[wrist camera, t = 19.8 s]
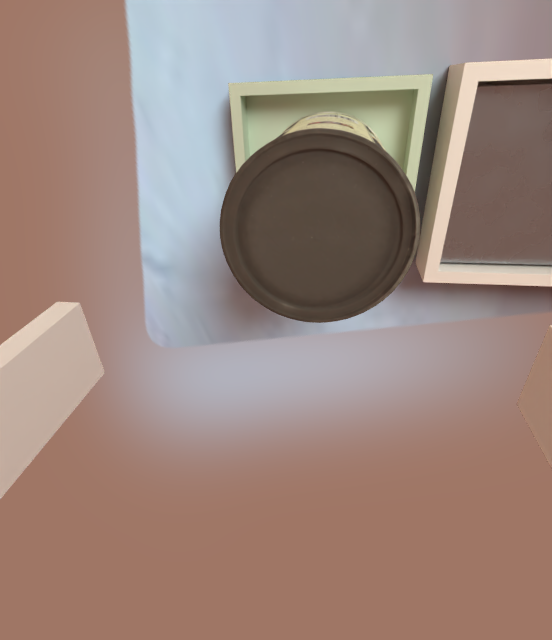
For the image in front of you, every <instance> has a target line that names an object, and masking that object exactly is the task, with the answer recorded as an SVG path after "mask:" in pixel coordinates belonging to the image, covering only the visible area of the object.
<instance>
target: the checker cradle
mask: <svg viewBox="0 0 552 640" xmlns="http://www.w3.org/2000/svg"><path fill="white" fill-rule="evenodd" d="M527 84H552V59H535V60H514V61H493V62H472V63H461V64H456V65H450V66H449V72H448V77H447V83H446V89H445V95H444V100H443V106H442V112H441V118H440V123H439V129H438V135H437V141H436V146H435V152H434V158H433V164H432V169H431V175H430V181H429V187H428V192H427V198H426V204H425V210H424V215H423V221H422V227H421V233H420V238H419V244H418V250H417V256H416V261H415V264H416V266H417V268H418V271H419V273H420V276H421V278H422V281H423V282H433V283H463V284H494V285H524V286H552V265H536V264H496V263H457V262H440V260H441V256H442V251H443V246H444V241H445V237H446V232H447V227H448V223H449V218H450V213H451V208H452V204H453V199H454V194H455V189H456V185H457V180H458V175H459V171H460V166H461V161H462V156H463V152H464V147H465V142H466V137H467V133H468V128H469V123H470V119H471V114H472V109H473V104H474V100H475V95H476V90H477V86H501V85H527Z"/></svg>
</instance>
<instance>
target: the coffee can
mask: <svg viewBox="0 0 552 640" xmlns="http://www.w3.org/2000/svg"><path fill="white" fill-rule="evenodd" d="M419 236H420V213H419V207H418V201H417V198H416V195H415V192H414V189H413V187H412V184H411V182H410V181H409V179H408V177H407V176H406V174H405V173H404V171H403V170H402V168H401V167H400V166H399V164H398V163H397V162H396V161H395V160H394V159H393V157H392V156H391V155H390V154H388V153H387V152H386V150H385V149H384V147H383V145H382V142H381V141H380V139H379V138H378V136H377V135H376V133H375V132H374V131H373V130H372V129H371V128H370V127H369V126H368V125H367V124H366V123H364V122H363V121H362V120H360V119H358V118H356V117H355V116H353V115H349V114H347V113H342V112H336V111H323V112H317V113H312V114H309V115H306V116H304V117H301V118H300V119H298V120H297V121H295V122H294V123H292V124H291V125H290V126H288V127H287V128H286V129H285V130H284V131H283V132H282V133H281V135H280V136H278V137H277V138H276V139H274V140H273V141H271V142H269V143H267V144H266V145H264V146H263V147H261V148H260V149H259V150H257V151H256V152H255V153H254V154H253V155H251V156H250V157H249V158H248V159H247V160H246V161H245V162H244V163H243V164H242V166H241V167H240V169H239V170H238V171H237V173H236V174H235V176H234V177H233V179H232V181H231V183H230V185H229V187H228V189H227V192H226V194H225V198H224V201H223V205H222V209H221V217H220V238H221V244H222V249H223V252H224V255H225V258H226V261H227V263H228V265H229V267H230V269H231V271H232V273H233V275H234V277H235V278H236V279H237V281H238V283H239V284H240V285H241V286H242V288H243V289H244V290H245V291H246V292H247V293H248V294H249V295H250V296H251V297H252V298H253V299H254V300H256V301H257V302H258V303H260V304H261V305H263V306H264V307H266V308H268V309H269V310H271V311H273V312H275V313H277V314H279V315H282V316H284V317H287V318H290V319H295V320H299V321H305V322H319V323H321V322H333V321H339V320H344V319H348V318H351V317H354V316H356V315H359V314H361V313H363V312H366V311H367V310H369V309H371V308H373V307H374V306H376V305H377V304H379V303H380V302H381V301H383V300H384V299H385V298H386V297H387V296H389V295H390V294H391V293H392V292H393V291H394V290H395V288H396V287H397V286H398V285H399V284H400V283H401V281H402V280H403V278H404V277H405V275H406V274H407V272H408V270H409V268H410V266H411V264H412V262H413V259H414V257H415V254H416V251H417V247H418V243H419Z"/></svg>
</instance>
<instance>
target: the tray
mask: <svg viewBox="0 0 552 640" xmlns="http://www.w3.org/2000/svg"><path fill="white" fill-rule="evenodd" d="M432 78H433V74H427V75H404V76H382V77H359V78H336V79H314V80H291V81H268V82H246V83H228V84H229V96H230V107H231V119H232V130H233V142H234V153H235V165H236V173H237V171H238V170H239V169H240V167H241V166H242V164H243V163H244V162H245V161H246V160H247V159H248V158H249V157H250V156H251V155H253V154H254V153H255V152H256V151H257V150H259V149H260V148H261V147H263V146H264V145H266V144H267V143H269V142H271V141H273V140H274V139H276V138H277V137H278V136H280V135H281V133H282V132H283V131H284V130H285V129H286V128H287V127H288V126H290V125H291V124H292V123H294V122H295V121H297V120H298V119H300V118H301V117H304V116H306V115H309V114H312V113H317V112H323V111H336V112H342V113H347V114H349V115H353V116H355V117H356V118H358V119H360V120H362V121H363V122H364V123H366V124H367V125H368V126H369V127H370V128H371V129H372V130H373V131H374V132H375V133H376V135H377V136H378V138H379V139H380V141H381V142H382V145H383V147H384V149H385V150H386V152H387V153H388V154H390V155H391V156H392V157H393V159H394V160H395V161H396V162H397V163H398V164H399V166H400V167H401V168H402V170H403V171H404V173H405V174H406V176H407V177H408V179H409V181H410V182H411V184H412V187H413V189H414V192H415V187H416V181H417V174H418V168H419V162H420V155H421V149H422V142H423V136H424V130H425V123H426V117H427V110H428V104H429V98H430V91H431V85H432Z"/></svg>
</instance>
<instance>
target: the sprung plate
mask: <svg viewBox="0 0 552 640" xmlns="http://www.w3.org/2000/svg"><path fill="white" fill-rule="evenodd" d="M440 262H457V263H496V264H536V265H552V84H527V85H501V86H477V90H476V95H475V100H474V104H473V109H472V114H471V119H470V123H469V128H468V133H467V137H466V142H465V147H464V152H463V156H462V161H461V166H460V171H459V175H458V180H457V185H456V189H455V194H454V199H453V204H452V208H451V213H450V218H449V223H448V227H447V232H446V237H445V241H444V246H443V251H442V256H441V260H440Z"/></svg>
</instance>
